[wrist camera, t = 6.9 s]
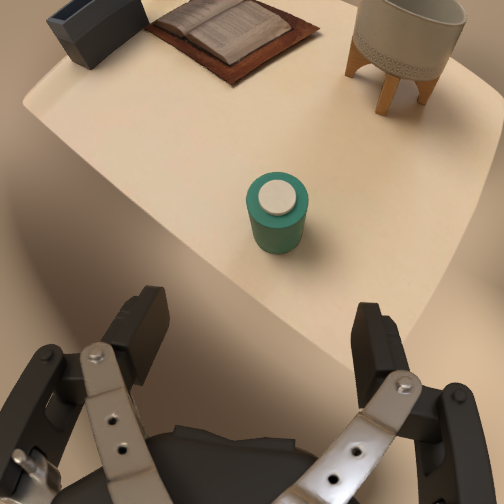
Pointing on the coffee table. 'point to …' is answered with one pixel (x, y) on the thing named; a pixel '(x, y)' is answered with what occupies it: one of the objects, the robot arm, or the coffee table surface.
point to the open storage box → (96, 27)
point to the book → (230, 34)
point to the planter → (405, 42)
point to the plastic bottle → (277, 211)
